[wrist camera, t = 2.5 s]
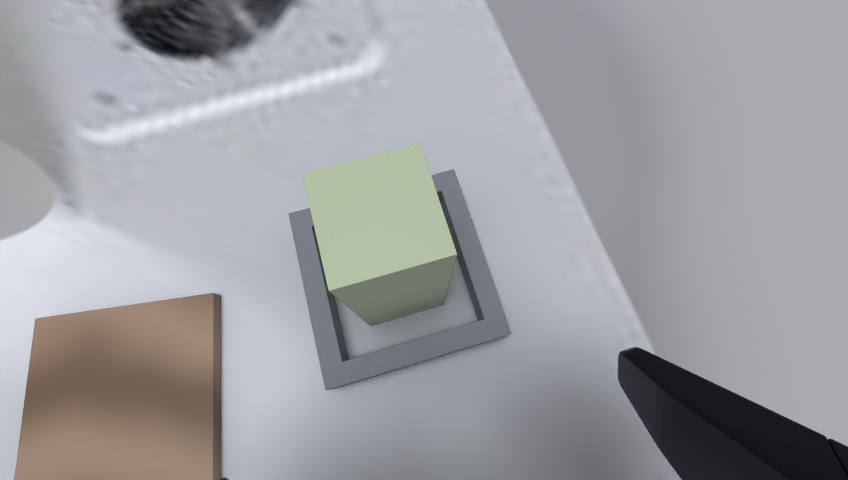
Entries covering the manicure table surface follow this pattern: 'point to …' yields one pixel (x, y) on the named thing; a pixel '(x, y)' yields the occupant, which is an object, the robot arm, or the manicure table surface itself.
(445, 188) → the gray square frame
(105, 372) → the walnut pad
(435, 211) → the olive block
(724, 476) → the robot arm
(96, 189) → the manicure table surface
